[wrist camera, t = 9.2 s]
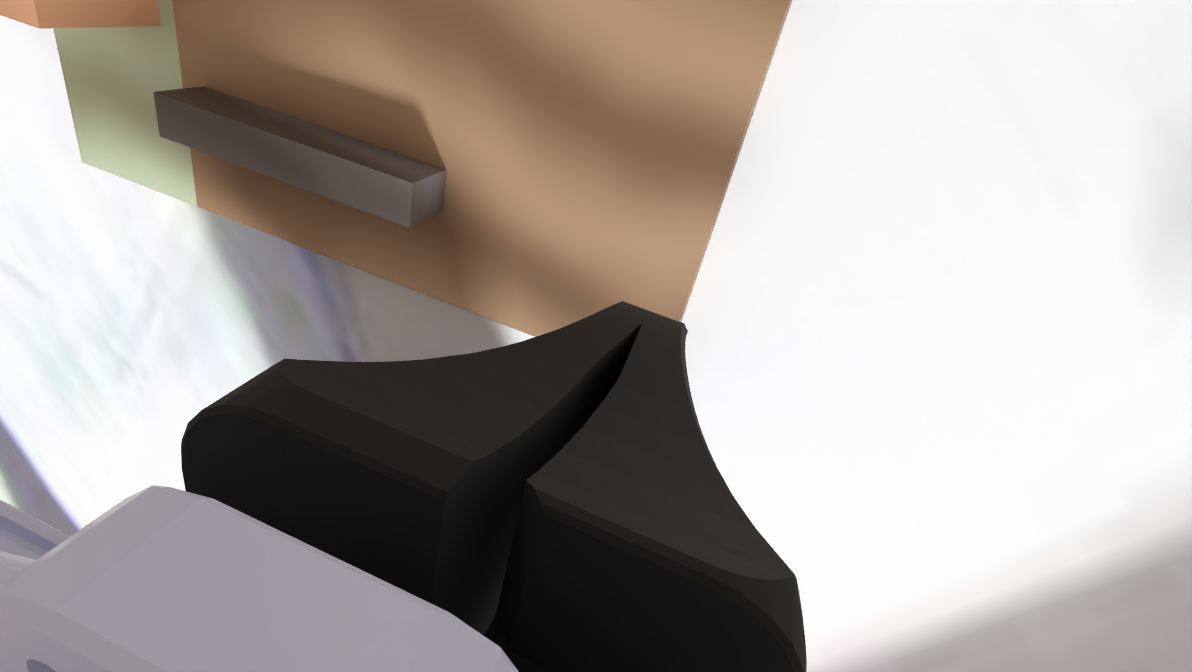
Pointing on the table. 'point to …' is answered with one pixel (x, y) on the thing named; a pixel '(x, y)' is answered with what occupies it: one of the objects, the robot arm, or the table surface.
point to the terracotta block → (82, 13)
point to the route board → (444, 135)
